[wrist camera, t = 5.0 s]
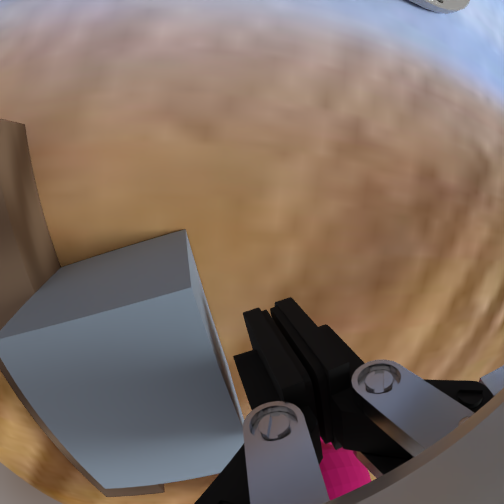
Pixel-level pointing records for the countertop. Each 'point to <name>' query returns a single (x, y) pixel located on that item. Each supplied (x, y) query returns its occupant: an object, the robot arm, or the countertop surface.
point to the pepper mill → (341, 471)
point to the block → (128, 366)
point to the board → (30, 261)
